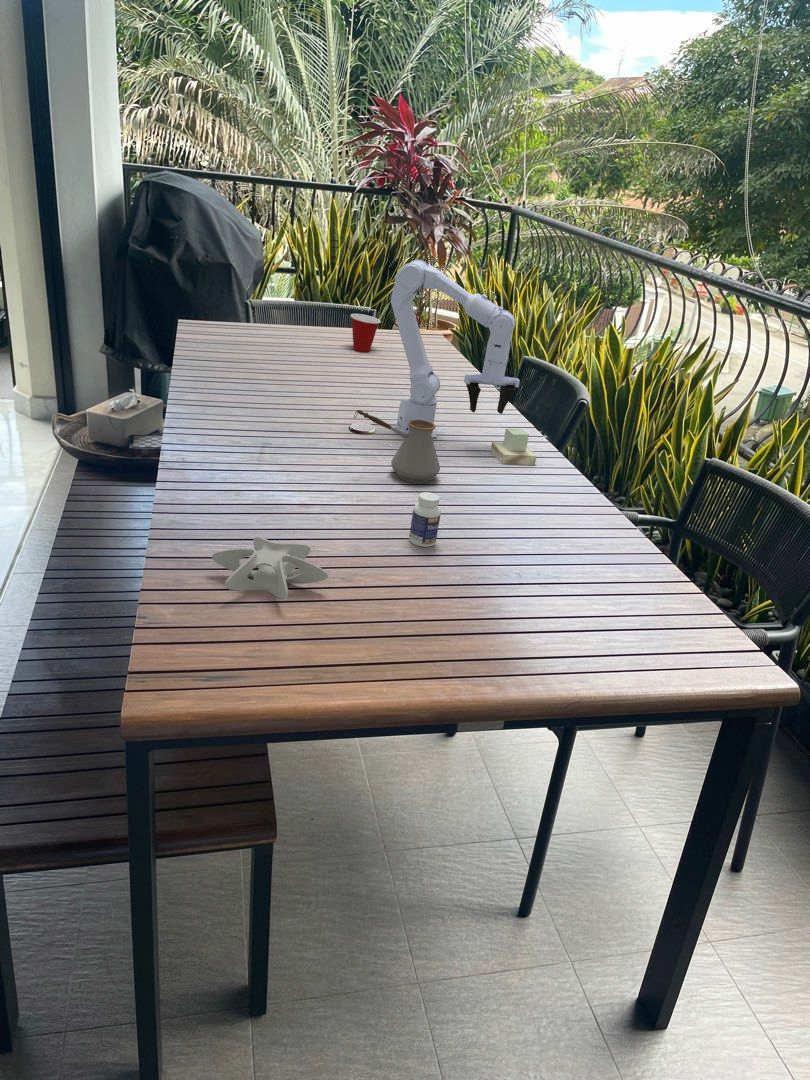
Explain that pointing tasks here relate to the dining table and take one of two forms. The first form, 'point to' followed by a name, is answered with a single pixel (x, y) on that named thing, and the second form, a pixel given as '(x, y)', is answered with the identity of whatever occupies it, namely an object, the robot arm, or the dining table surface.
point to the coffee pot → (413, 451)
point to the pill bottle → (425, 520)
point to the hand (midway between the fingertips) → (486, 411)
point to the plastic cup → (363, 331)
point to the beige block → (512, 455)
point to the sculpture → (269, 567)
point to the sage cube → (515, 439)
